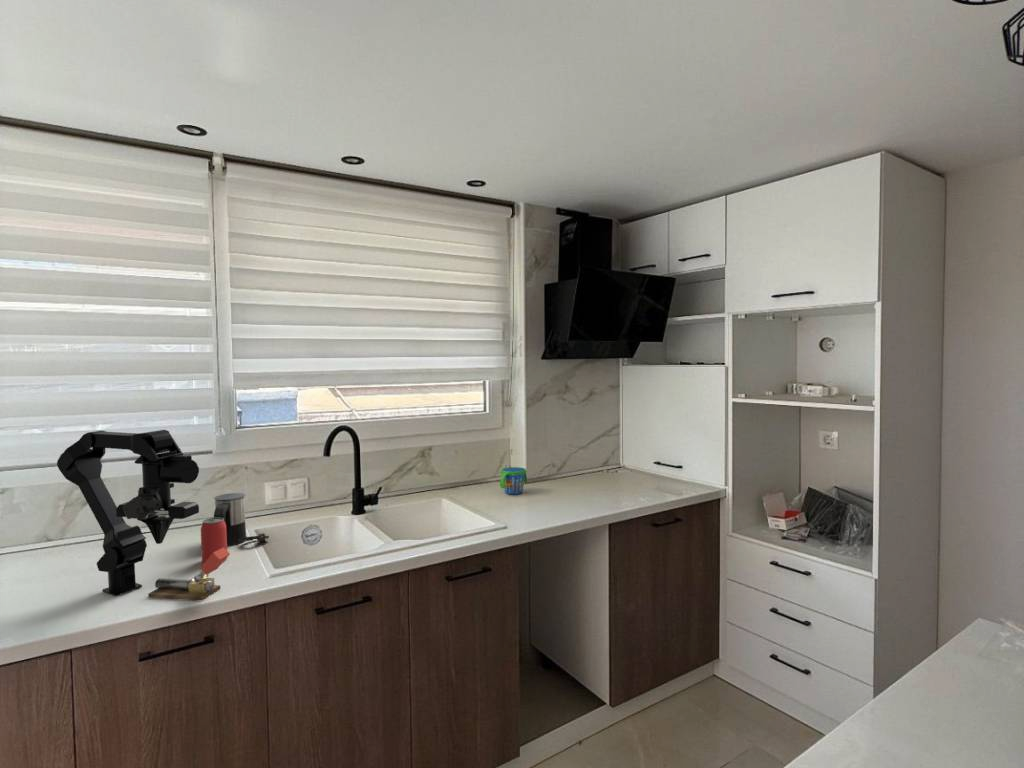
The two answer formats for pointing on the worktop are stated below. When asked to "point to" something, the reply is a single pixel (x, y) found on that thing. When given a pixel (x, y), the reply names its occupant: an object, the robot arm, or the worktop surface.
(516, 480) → the snack cup
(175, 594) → the walnut board
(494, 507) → the worktop surface
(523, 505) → the worktop surface
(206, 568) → the valve lever
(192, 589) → the valve body
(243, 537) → the milk frother
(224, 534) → the beer can
